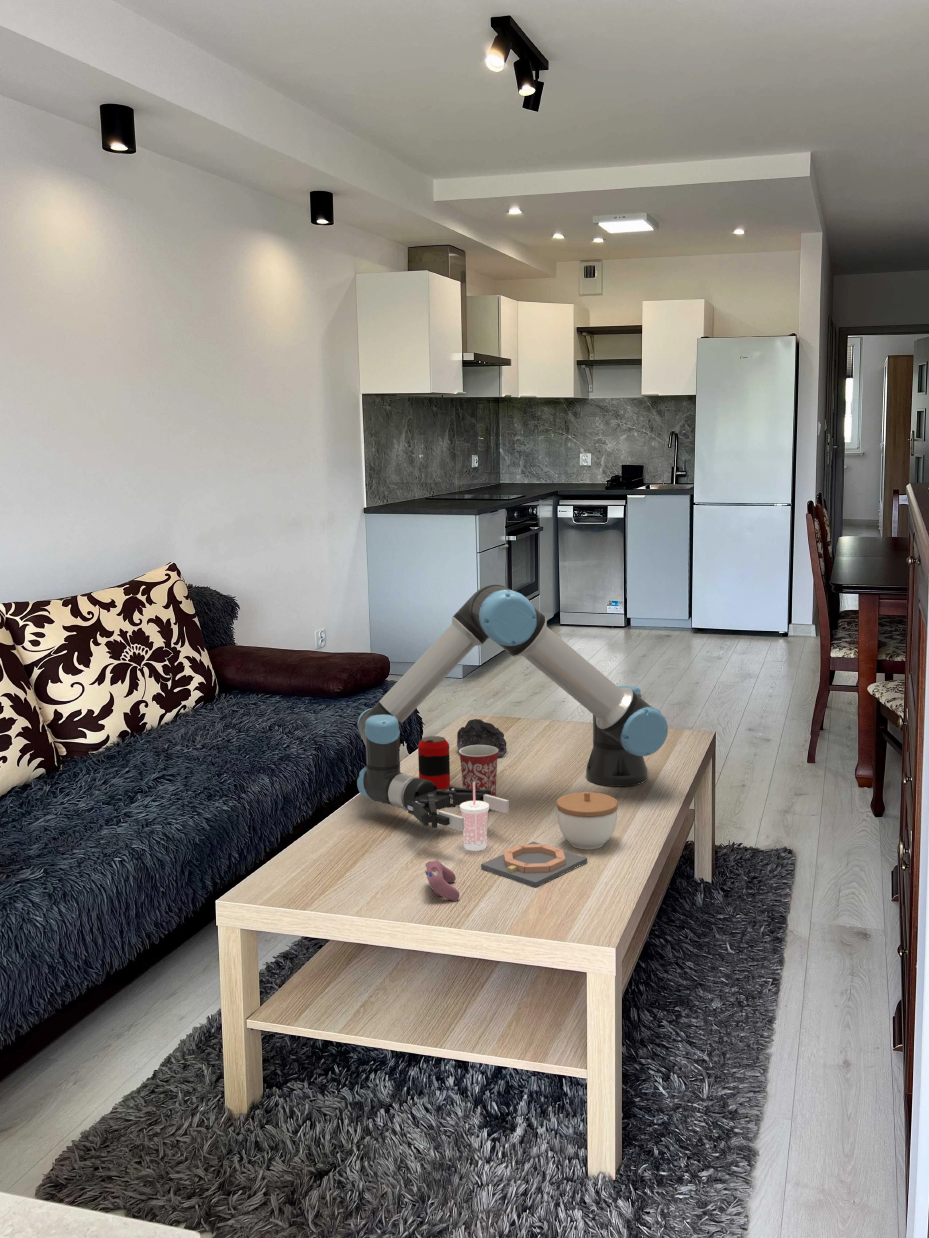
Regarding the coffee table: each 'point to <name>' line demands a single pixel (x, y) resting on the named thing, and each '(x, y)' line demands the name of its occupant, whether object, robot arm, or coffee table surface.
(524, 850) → the ring board
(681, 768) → the coffee table surface
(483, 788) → the mug
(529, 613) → the robot arm
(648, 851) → the coffee table surface
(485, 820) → the beverage cup
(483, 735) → the black rock
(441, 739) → the soda can
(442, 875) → the video game controller
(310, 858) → the coffee table surface
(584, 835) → the lidded bowl
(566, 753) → the coffee table surface
